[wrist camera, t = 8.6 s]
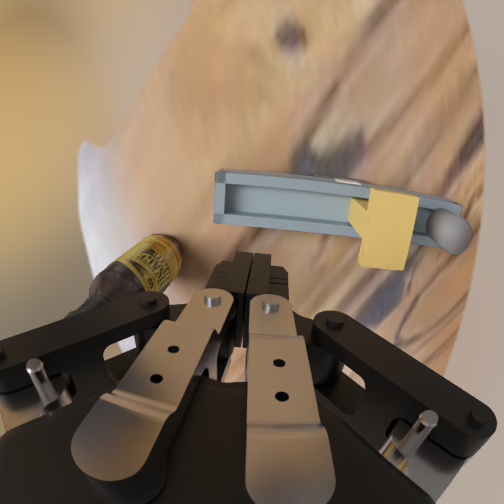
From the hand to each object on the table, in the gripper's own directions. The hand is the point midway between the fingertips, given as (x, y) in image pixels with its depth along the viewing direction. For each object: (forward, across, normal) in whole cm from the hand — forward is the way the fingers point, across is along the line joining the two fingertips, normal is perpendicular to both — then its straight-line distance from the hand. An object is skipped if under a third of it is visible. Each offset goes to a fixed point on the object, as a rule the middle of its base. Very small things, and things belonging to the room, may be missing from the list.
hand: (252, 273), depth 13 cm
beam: (+23, -8, +1) cm, 24 cm away
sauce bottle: (+23, +13, +10) cm, 28 cm away
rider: (+18, -10, +1) cm, 21 cm away
